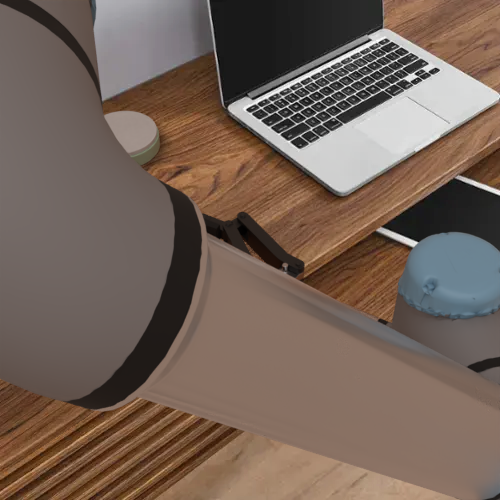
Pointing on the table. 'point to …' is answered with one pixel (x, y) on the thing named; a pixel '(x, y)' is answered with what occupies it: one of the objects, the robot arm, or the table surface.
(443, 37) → the table surface
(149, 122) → the beige and green disc
